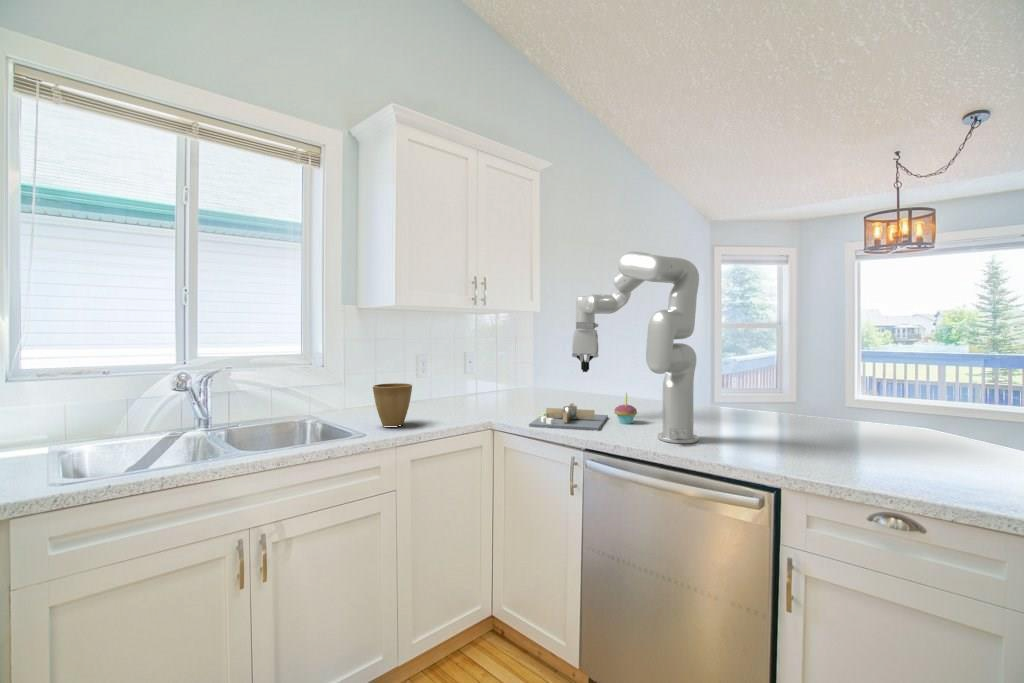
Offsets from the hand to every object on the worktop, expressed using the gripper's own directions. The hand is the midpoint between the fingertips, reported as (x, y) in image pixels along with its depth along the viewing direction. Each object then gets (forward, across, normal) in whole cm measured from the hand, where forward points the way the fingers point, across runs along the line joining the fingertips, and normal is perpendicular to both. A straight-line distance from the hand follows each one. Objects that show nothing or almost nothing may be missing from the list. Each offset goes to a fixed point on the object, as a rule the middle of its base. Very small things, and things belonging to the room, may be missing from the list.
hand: (585, 371), depth 190 cm
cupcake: (+19, -16, +4) cm, 26 cm away
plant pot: (+20, +68, +34) cm, 79 cm away
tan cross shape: (+18, +5, +8) cm, 20 cm away
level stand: (+19, +4, +8) cm, 21 cm away
